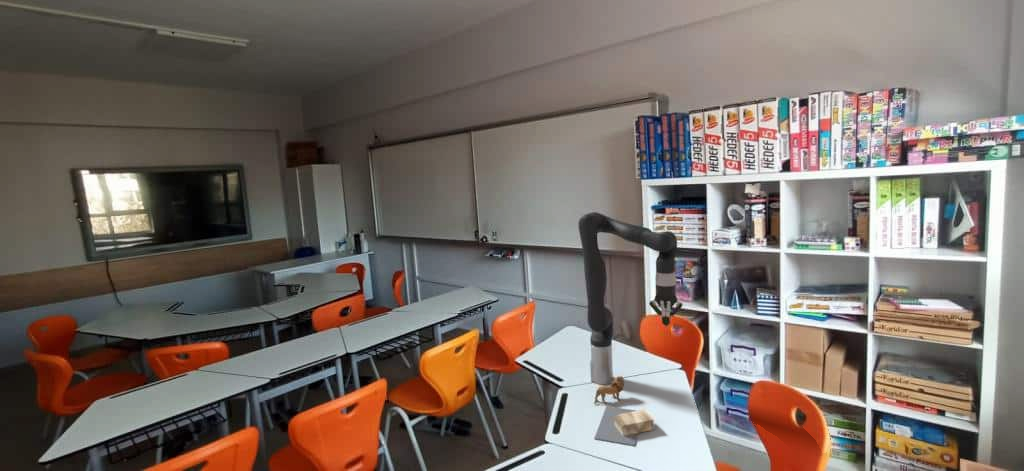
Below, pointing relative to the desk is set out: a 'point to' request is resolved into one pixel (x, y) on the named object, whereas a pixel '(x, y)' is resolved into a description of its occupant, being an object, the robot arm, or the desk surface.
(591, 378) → the robot arm
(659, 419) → the desk surface
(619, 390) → the lion figurine
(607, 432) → the slate mat
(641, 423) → the birch block
